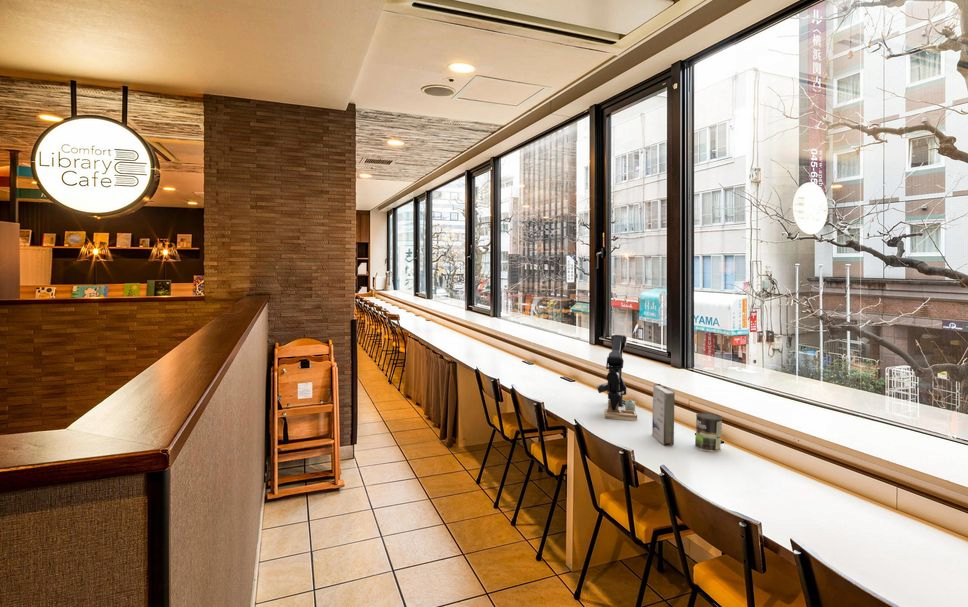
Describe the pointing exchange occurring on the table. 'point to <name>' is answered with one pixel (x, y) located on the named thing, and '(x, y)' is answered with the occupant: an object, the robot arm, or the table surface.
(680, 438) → the table surface
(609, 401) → the walnut block
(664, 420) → the book
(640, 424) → the table surface
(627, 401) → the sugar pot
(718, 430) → the coffee can
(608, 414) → the caddy base
